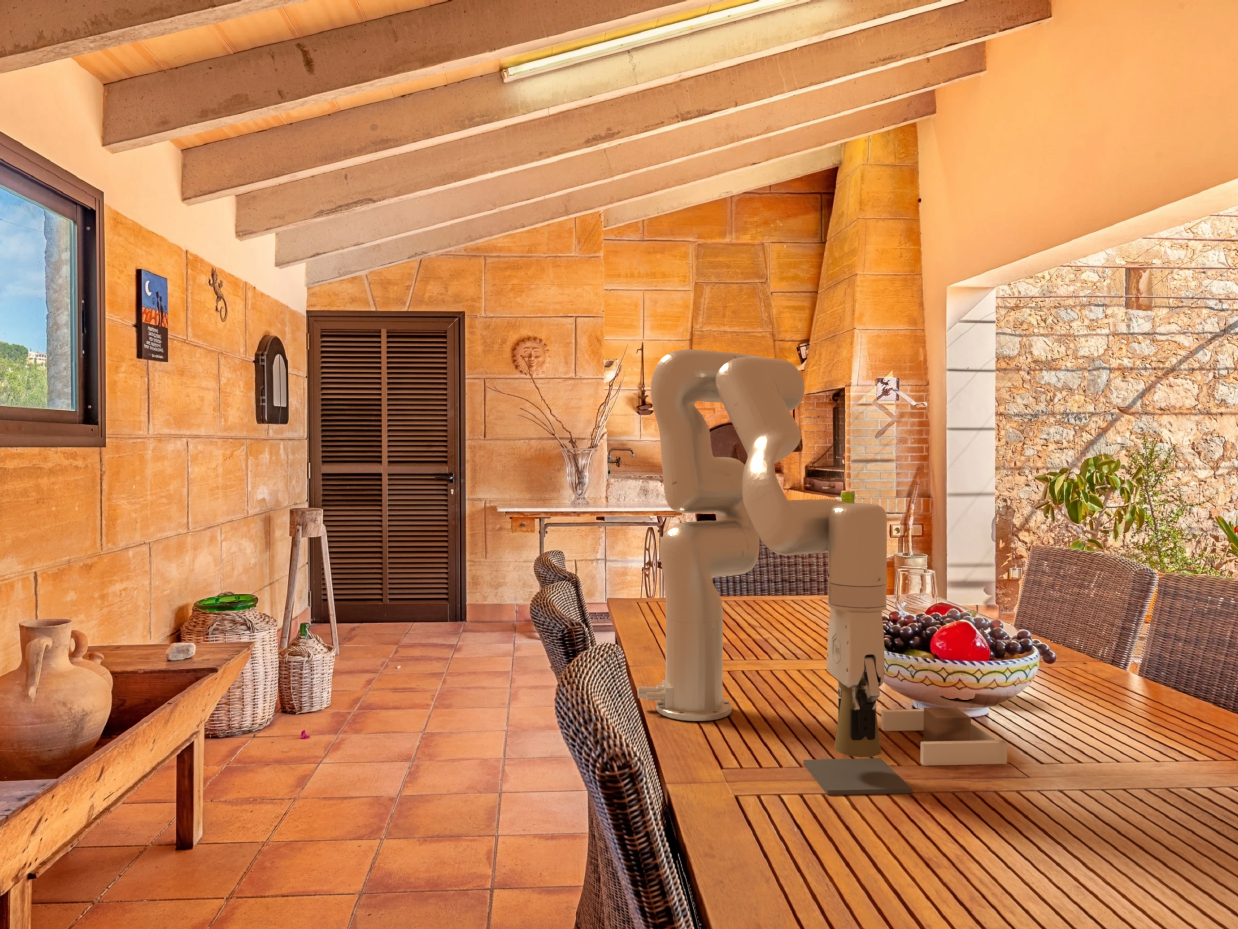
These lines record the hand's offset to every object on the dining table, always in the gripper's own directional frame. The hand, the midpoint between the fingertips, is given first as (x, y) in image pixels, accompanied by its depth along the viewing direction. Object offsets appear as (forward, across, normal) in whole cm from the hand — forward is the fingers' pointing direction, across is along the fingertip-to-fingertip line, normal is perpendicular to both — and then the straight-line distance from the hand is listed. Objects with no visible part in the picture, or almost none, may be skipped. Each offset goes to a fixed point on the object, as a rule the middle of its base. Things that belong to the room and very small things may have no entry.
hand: (856, 732), depth 118 cm
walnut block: (+6, -12, +18) cm, 23 cm away
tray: (+6, -12, +16) cm, 21 cm away
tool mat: (+6, 0, 0) cm, 6 cm away
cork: (+2, 0, 0) cm, 3 cm away
